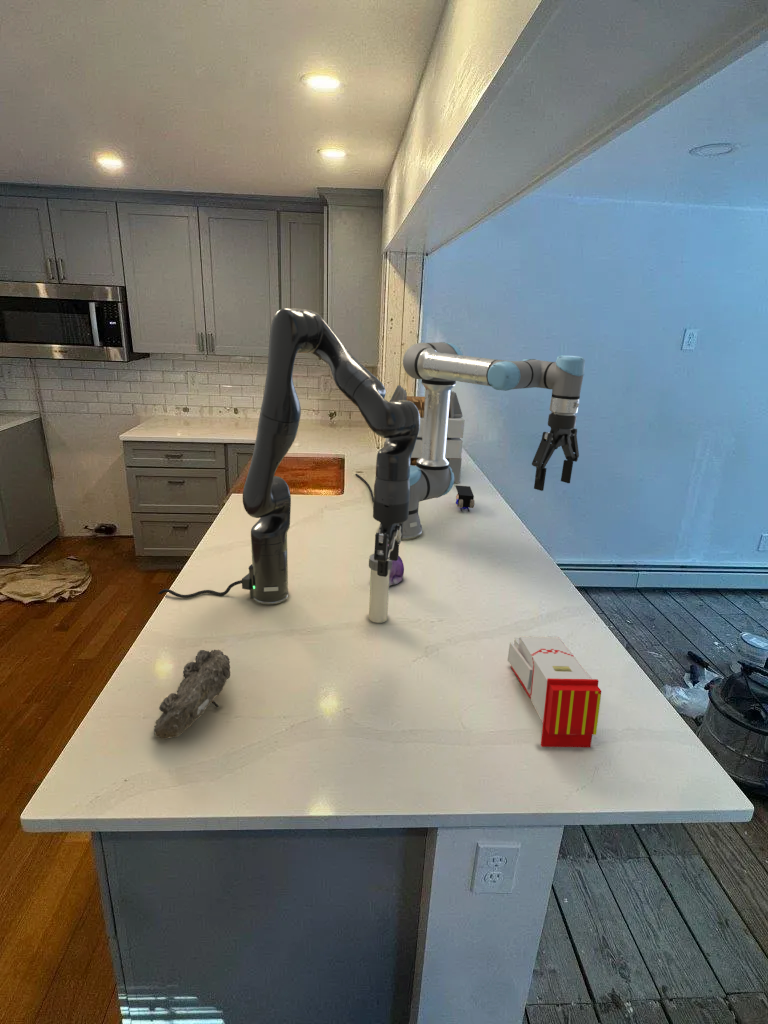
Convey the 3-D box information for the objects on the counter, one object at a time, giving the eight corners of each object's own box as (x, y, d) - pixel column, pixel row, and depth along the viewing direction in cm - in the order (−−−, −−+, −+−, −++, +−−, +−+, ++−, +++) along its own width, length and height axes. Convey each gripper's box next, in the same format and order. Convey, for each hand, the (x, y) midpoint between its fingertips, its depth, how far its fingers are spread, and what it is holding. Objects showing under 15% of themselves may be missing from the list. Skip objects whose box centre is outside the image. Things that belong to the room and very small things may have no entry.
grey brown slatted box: (382, 463, 289) (386, 382, 275) (445, 464, 293) (451, 384, 279) (390, 482, 257) (394, 392, 243) (460, 483, 261) (468, 394, 247)
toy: (555, 619, 129) (611, 687, 100) (550, 674, 132) (602, 754, 102) (502, 618, 128) (542, 685, 99) (498, 673, 131) (536, 754, 102)
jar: (389, 621, 144) (392, 562, 138) (371, 623, 142) (373, 564, 137) (384, 612, 148) (387, 554, 142) (366, 614, 147) (368, 556, 141)
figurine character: (474, 517, 223) (468, 500, 237) (476, 499, 220) (470, 484, 233) (457, 516, 223) (452, 500, 236) (459, 499, 220) (454, 483, 233)
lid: (394, 570, 139) (395, 561, 138) (372, 572, 137) (372, 563, 136) (388, 560, 144) (388, 552, 143) (366, 562, 142) (366, 554, 141)
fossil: (181, 651, 120) (231, 619, 115) (213, 681, 123) (262, 651, 118) (130, 732, 101) (187, 698, 96) (169, 765, 103) (226, 734, 99)
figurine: (383, 590, 159) (385, 540, 154) (367, 575, 168) (368, 528, 163) (412, 584, 163) (415, 536, 158) (395, 569, 172) (397, 523, 167)
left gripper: (383, 485, 126) (380, 552, 131) (364, 505, 113) (361, 578, 119) (416, 490, 124) (412, 557, 130) (400, 510, 111) (396, 584, 117)
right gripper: (548, 419, 148) (537, 496, 155) (598, 411, 163) (586, 482, 171) (525, 414, 153) (515, 489, 160) (575, 407, 169) (564, 476, 176)
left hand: (388, 567), depth 124 cm, fingers open, 8 cm apart
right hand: (552, 485), depth 166 cm, fingers open, 13 cm apart
